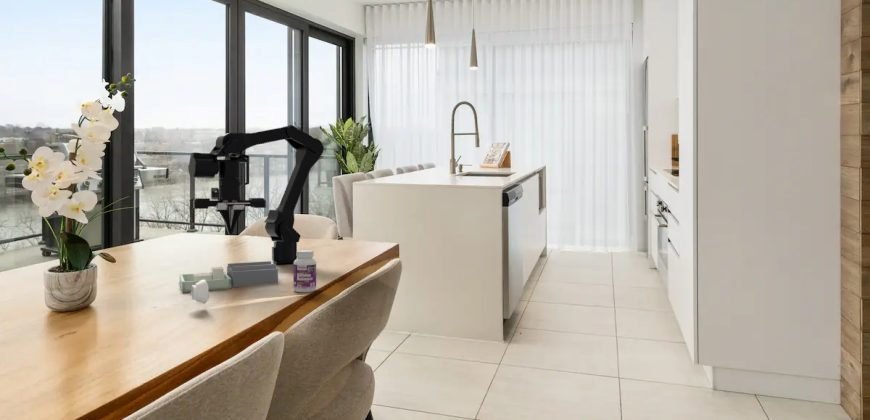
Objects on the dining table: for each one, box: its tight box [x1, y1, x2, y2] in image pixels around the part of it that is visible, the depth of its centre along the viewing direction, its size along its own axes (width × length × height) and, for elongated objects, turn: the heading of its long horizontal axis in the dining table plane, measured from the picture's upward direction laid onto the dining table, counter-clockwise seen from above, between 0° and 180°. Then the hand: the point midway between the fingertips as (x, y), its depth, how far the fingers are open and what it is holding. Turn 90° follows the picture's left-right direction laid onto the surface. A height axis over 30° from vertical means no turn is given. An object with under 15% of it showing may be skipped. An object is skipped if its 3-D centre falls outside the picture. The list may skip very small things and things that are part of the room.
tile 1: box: [192, 272, 212, 281], centre depth 141 cm, size 4×4×2 cm
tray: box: [179, 271, 232, 293], centre depth 142 cm, size 11×14×2 cm
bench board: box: [226, 260, 279, 288], centre depth 147 cm, size 11×12×5 cm
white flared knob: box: [190, 280, 210, 304], centre depth 120 cm, size 5×3×5 cm, turn 33°
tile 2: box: [210, 266, 225, 280], centre depth 143 cm, size 4×4×2 cm
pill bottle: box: [292, 249, 317, 293], centre depth 135 cm, size 5×5×10 cm
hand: (230, 234), depth 157 cm, fingers closed
